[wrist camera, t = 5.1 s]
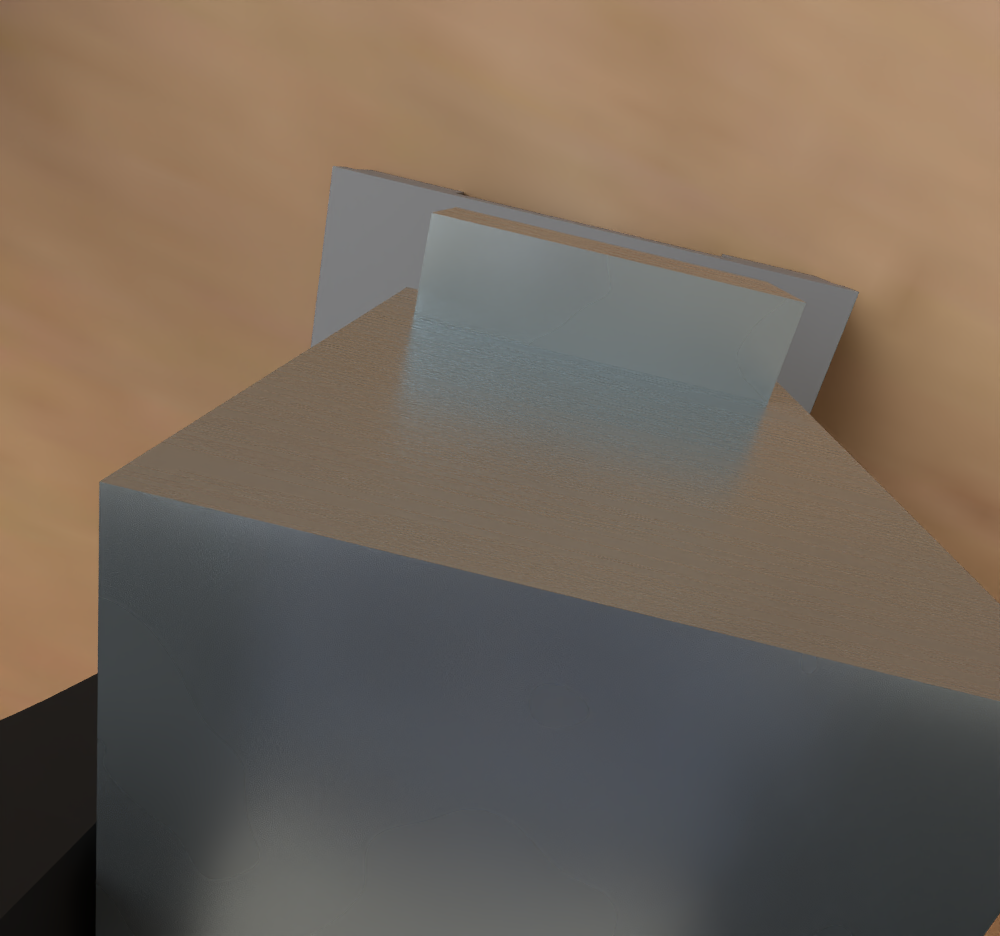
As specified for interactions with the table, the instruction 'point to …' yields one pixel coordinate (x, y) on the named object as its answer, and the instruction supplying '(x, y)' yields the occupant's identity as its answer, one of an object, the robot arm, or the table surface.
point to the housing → (537, 633)
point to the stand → (409, 204)
